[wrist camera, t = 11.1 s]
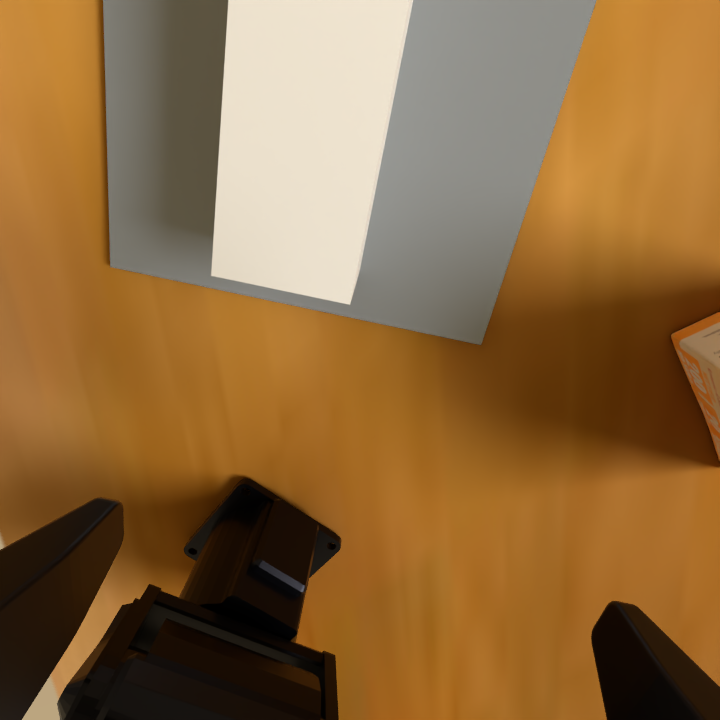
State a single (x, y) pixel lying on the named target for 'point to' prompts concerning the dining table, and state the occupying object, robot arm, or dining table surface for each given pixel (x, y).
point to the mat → (399, 161)
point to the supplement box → (703, 367)
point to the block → (303, 139)
